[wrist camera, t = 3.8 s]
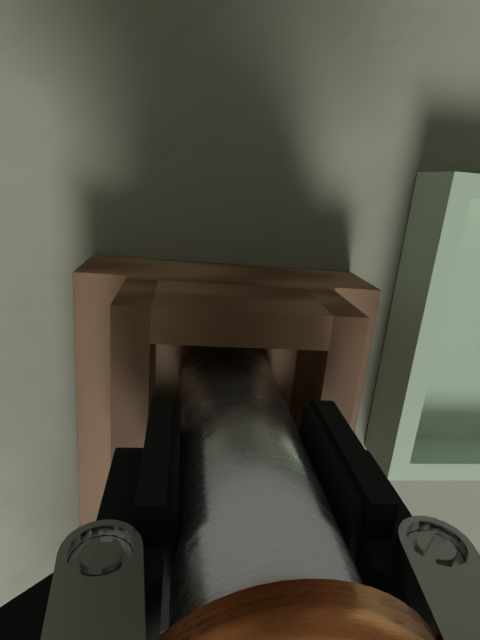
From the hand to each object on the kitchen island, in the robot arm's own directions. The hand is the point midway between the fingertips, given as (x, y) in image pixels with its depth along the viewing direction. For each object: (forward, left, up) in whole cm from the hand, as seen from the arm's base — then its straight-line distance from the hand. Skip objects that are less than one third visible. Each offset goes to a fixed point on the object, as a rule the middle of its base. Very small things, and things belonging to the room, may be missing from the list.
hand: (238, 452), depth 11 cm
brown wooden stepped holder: (0, +4, -7) cm, 8 cm away
